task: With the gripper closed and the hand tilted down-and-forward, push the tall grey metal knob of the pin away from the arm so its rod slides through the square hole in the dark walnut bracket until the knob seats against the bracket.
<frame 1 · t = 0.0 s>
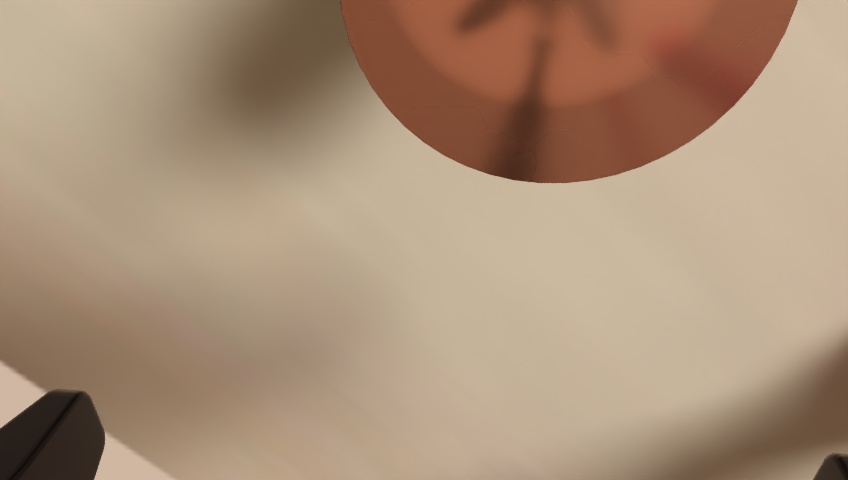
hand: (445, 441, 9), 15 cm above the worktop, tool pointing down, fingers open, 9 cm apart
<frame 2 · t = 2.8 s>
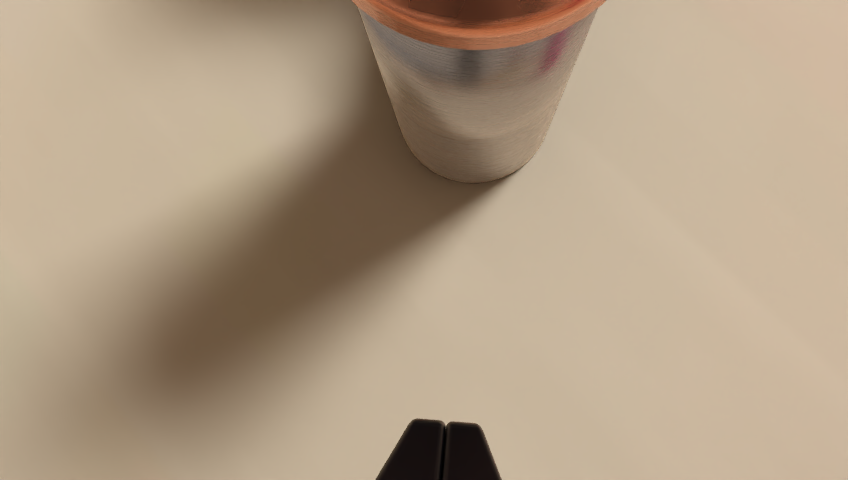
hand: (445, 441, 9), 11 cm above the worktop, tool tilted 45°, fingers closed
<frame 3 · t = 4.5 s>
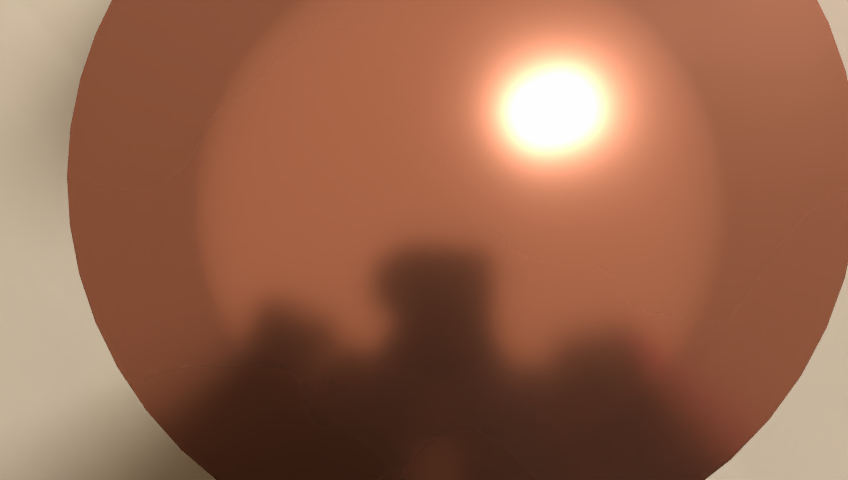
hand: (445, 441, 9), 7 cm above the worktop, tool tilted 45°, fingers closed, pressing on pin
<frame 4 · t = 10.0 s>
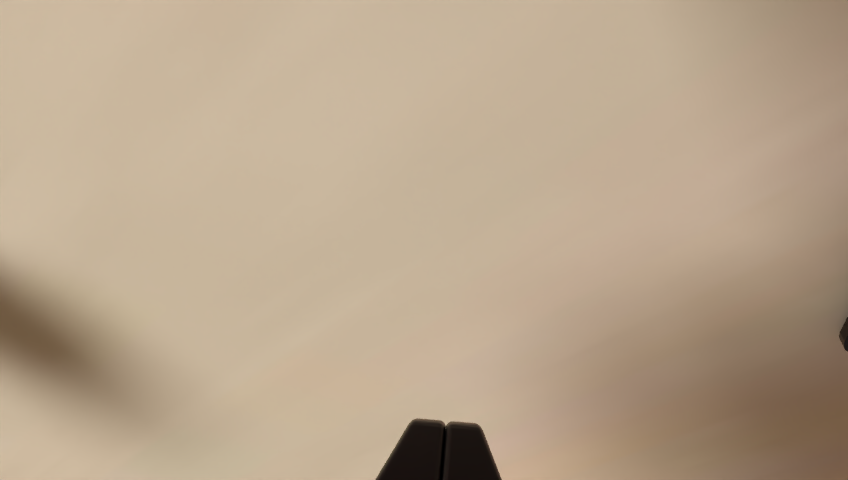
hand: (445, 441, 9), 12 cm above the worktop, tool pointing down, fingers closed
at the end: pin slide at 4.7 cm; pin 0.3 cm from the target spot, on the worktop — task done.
